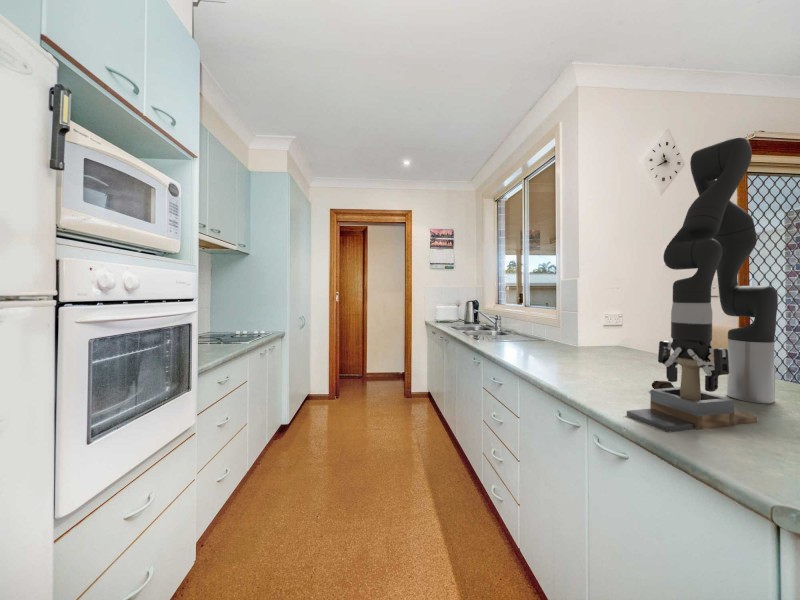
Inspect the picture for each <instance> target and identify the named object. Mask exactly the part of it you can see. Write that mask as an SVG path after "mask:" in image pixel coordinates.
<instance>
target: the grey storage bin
mask: <svg viewBox="0 0 800 600" xmlns="http://www.w3.org/2000/svg"><path fill="white" fill-rule="evenodd" d="M680 387H681V386H680ZM680 387H677V386H676V387H675V388H663V389H654V388H652V389H651V388H650V402H651V401H652V402H655V403H658V404H661V405H664V406H667V407H670V408H673V409H676V410H679V411H682V412H685V413H688V414H691V415H694V416H697V417H699V416H708V415H718V414H727V413H734V410H735V407H736V406H735V403H736V402H735V401H736V400H735V399H733V398H732V399H731V398H729V397H724V396H720V395H718V394H717V395H716V394H713V393H710V392H709V393H708V392H707V391H706V392H705V391H702V390H701V400H700V401H694V400H691V399H687V398H684V397H680ZM626 416H627V417H630V418H632V419H635V420H637V421H640V422H641V423H644V424H647V425H648V426H651V427H653V426H654V428H657V429H659V430H661V431H664V432H666V433H668V432H670V431H671V432H677V431H689V430H696V429H695V423H692V422H689V421H686V420H684V419H681V418H678V417H675V416H672V415H670V414H667V413H664V412H661V411H658V410H656V409H653V408H643V409H642V408H640V409H630V410H626Z"/></svg>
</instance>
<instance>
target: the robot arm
mask: <svg viewBox="0 0 800 600" xmlns="http://www.w3.org/2000/svg"><path fill="white" fill-rule="evenodd" d="M752 153H753V151H752V146H751V144H750V142H749V140H748V139H747V138H745V137H743V136H736V137H732V138H730V139H726V140H724V141H721V142H717V143H713V144H712V145H708V146H706V147H703V148H700V149H697V150H695V151H694V152H693V153H692V155H691V157H690V160H689V161H690V171H691V176H692V178H693V182H694V185H695V187H696V190H697V193H698V197H697V198H695V200H694V201H693V202H692V203H691V205H690V206H689V208H688V210H687V212H686V215H685V218H684V221H683V224H682V226H681V228H679V230H678V231H677V233H676V234H675V235H674V236H673V237H672V239H671V240H670V241H669V243H668V244H667V245H666V248H665V250H664V252H663V263H664V264H665V266H666V267H667V268H669V269H671V270H693V269H694V270H695V269H696V272H695V273H694V274H693V275H692V276H689V277H685V278H681V279H680V278H679V279H677V280H675V281H674V282H673V284H672V304H671V305H672V306H671V310H670V311H671V312H670V313H671V314H670V338H671V339H672V342H671V341H670V340H660V341H659V342H658V356H657V362H658V363H659V364H662V365H664V366H665V367H666V368H665V369H666V371H665V372H666V373H665V374H666V378H667V381H668V382H671V383H676V382H678V367H677V366H678V365H679V364H678V357H680V358H686V359H691V360H695V361H697V365H698V366H699V367H701V368H700V369H702V371H703V372H704V374H705V376H704V389H705V391H706V392H709V393H711V392H715V391H716V390H718V388H719V377H720V376H724V375H725V376H726V375H727V376H726V377H727V381H726V395H727V396H728V397H730V398H732V399H734V400H735V399H736V400H740V401H745V402H749V403H757V404H773V403H774V402H775V401H776V368H775V339H776V338H775V336H776V331H777V329H776V328H777V327H776V326H777V314H778V313H777V312H778V304H779V298H778V293H777V291H776V288H774V287H773V286H771V285H739V283H738V275H739V271H740V270H741V268H742V266H743V265H744V263H745V261H746V260H747V259H748V258H749V256H750V255H751V253H752V252H753V251H754V250H755V247H756V245H757V243H758V242H757V241H758V237H757V236H758V235H757V233H756V232H757V231H756V227H755V221H754V218H753V217H752V215H750V213H748V212H747V211H746V210H745V209H744V208H742V207H741V206H739V205H737V204H736V203H735V202H734V201H732V200H731V199H732V196H733V195H734V193H735V192H736V190H737V189H738V187H739V185H740V183H741V182H742V180H743V178H744V177H745V174H746V172H747V171H748V169H749V167H750V164H751V161H752V156H753V155H752ZM715 274H716V277H717V284H718V285H717V286H718V294H719V302H720V307H721V310H722V311H723V313H724V314H725V315H727V316H729V317H737V318H738V317H739V318H740V317H741V318H743V317H744V318H754V320H753V322H751V323H750V324H748V325H745V326H741V327H736V328H731V329H728V332H727V348H724V347H723V348H713V347H712V345H711V342H712V340H713V309H712V285H713V281H714V278H715ZM671 351H673V352H672V353H671ZM710 356H711V357H713V359H712V358H711V357H710Z"/></svg>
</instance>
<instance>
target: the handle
mask: <svg viewBox="0 0 800 600" xmlns="http://www.w3.org/2000/svg"><path fill="white" fill-rule="evenodd" d="M678 365H680V366H681V376H680V379H681V380H680V397H684V398H687V399H691V400H694V401H700V400H701V391H702V390H701V377H700V376H701V375H700V374H701V373H700V371H701V369H702V368H701V367H699V366H698V365H697V361H695V360H691V359H686V358H680V357H678Z"/></svg>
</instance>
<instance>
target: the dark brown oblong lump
mask: <svg viewBox="0 0 800 600" xmlns="http://www.w3.org/2000/svg"><path fill="white" fill-rule="evenodd" d="M651 387H652V389H663V388H676V387H675V386H674V384H672V382H670V381H668V380H667V381H666V380H653V382H652V383H651Z"/></svg>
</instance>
